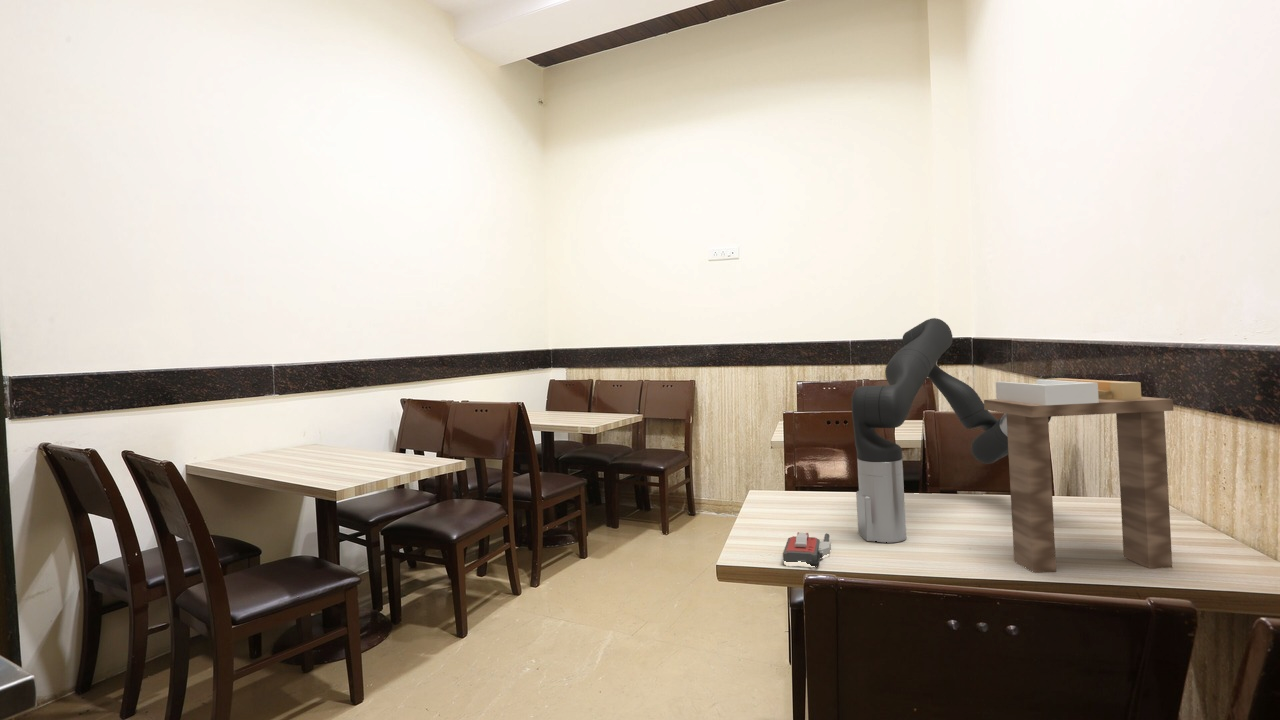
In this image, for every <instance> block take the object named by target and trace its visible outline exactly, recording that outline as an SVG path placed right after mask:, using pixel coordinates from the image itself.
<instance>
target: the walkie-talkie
mask: <svg viewBox="0 0 1280 720" xmlns="http://www.w3.org/2000/svg"><path fill="white" fill-rule="evenodd" d="M831 544H832V542H831V541H830V534H829V533H825V534H824V537H823V541H822V540H821V539H819V538H817V537H814V536H812V537H810V535H809V532H801V531H800V532H797V533H796V536H793V535H792V536H791V537H788V538H787V541H786V544H785V547H784V549H783V552H782V559H783V560H784V561H786V562H798V561H801V562H806V563H807V564H810V565H811V566H815V567H816V566H817V567H818V566H819V565H820V560H821V559H820V558H822V557H823V556H824V555H827V554H830V555H831V552H830V550H831V551H832V545H831ZM783 560H782V561H783ZM817 567H816V568H817Z"/></svg>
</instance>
